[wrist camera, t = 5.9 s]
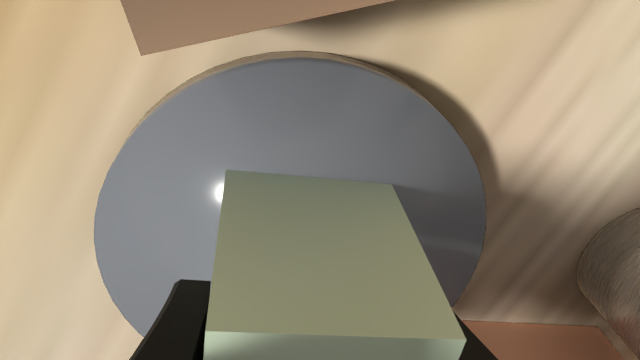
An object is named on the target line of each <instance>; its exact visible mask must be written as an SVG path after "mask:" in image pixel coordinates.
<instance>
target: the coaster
mask: <svg viewBox="0 0 640 360" xmlns="http://www.w3.org/2000/svg"><path fill="white" fill-rule="evenodd" d="M226 170H235V171H246V172H258V173H269V174H281V175H292V176H303V177H315V178H326V179H338V180H349V181H360V182H372V183H383V184H392V186H393V188H394V190H395V192H396V194H397V197H398V199H399V201H400V203H401V205H402V207H403V209H404V211H405V213H406V215H407V217H408V219H409V221H410V223H411V226H412V228H413V230H414V232H415V234H416V236H417V238H418V240H419V242H420V244H421V246H422V248H423V250H424V253H425V255H426V257H427V259H428V261H429V263H430V265H431V267H432V269H433V271H434V273H435V275H436V277H437V280H438V282H439V284H440V286H441V288H442V290H443V292H444V294H445V296H446V298H447V300H448V302H449V304H450V306H451V308H452V307H453V306H454V304H455V303H456V302H457V300H458V299H459V297H460V296H461V294H462V293H463V291H464V290H465V288H466V286H467V285H468V283H469V281H470V279H471V277H472V275H473V273H474V270H475V268H476V266H477V263H478V260H479V257H480V254H481V251H482V247H483V242H484V236H485V230H486V202H485V195H484V188H483V184H482V181H481V178H480V174H479V171H478V168H477V165H476V163H475V161H474V159H473V157H472V155H471V153H470V151H469V149H468V147H467V145H466V144H465V143H464V141H463V140H462V139H461V137H460V136H459V134H458V133H457V132H456V130H455V129H454V128H453V126H452V125H451V124H450V123H449V122H448V121H447V120H446V118H445V117H444V116H443V115H442V114H441V113H440V112H439V111H438V110H437V109H436V108H435V107H434V106H433V105H432V104H431V103H430V102H429V101H428V100H427V99H426V98H425V97H424V96H423V95H422V94H421V93H419V92H418V91H417V90H415V89H414V88H413V87H411V86H410V85H409V84H407V83H406V82H404V81H403V80H401V79H400V78H398V77H396V76H394V75H392V74H390V73H388V72H386V71H385V70H383V69H381V68H378V67H376V66H373V65H370V64H367V63H365V62H362V61H359V60H356V59H353V58H348V57H344V56H339V55H334V54H330V53H320V52H307V51H288V52H270V53H265V54H260V55H254V56H249V57H244V58H240V59H237V60H234V61H231V62H228V63H225V64H222V65H219V66H216V67H213V68H211V69H209V70H207V71H205V72H203V73H201V74H199V75H197V76H195V77H193V78H191V79H189V80H187V81H186V82H184V83H183V84H181V85H180V86H179V87H177V88H176V89H174V90H173V91H171V92H170V93H168V94H167V95H166V96H164V97H163V98H162V99H161V100H160V101H159V102H158V103H157V104H156V105H155V106H153V107H152V108H151V109H150V110H149V111H148V112H147V113H146V114H145V115H144V117H143V118H142V119H141V120H140V122H139V123H138V124H137V125H136V126H135V128H134V129H133V130H132V131H131V133H130V135H129V136H128V138H127V140H126V141H125V143H124V145H123V147H122V148H121V150H120V152H119V153H118V155H117V157H116V159H115V160H114V162H113V164H112V166H111V167H110V169H109V171H108V173H107V176H106V178H105V181H104V183H103V186H102V189H101V191H100V194H99V198H98V203H97V208H96V213H95V222H94V244H95V251H96V258H97V263H98V266H99V269H100V273H101V276H102V279H103V282H104V284H105V286H106V288H107V290H108V292H109V294H110V296H111V298H112V300H113V302H114V303H115V305H116V306H117V307H118V309H119V310H120V312H121V313H122V315H123V316H124V318H125V319H126V320H127V321H128V322H129V323H130V324H131V325H132V326H133V327H134V328H135V329H136V331H137V332H138V333H139V334H141V335H142V336H143V337H145V336H146V334H147V333H148V331H149V330H150V328H151V326H152V325H153V323H154V321H155V320H156V318H157V317H158V315H159V313H160V311H161V310H162V308H163V306H164V304H165V302H166V301H167V299H168V297H169V295H170V293H171V290H172V288H173V286H174V283H176V282H177V281H179V280H180V279H186V280H204V281H211V282H212V274H213V266H214V259H215V251H216V243H217V235H218V227H219V220H220V212H221V204H222V196H223V188H224V181H225V173H226ZM210 290H211V286H210Z"/></svg>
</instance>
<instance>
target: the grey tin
mask: <svg viewBox="0 0 640 360" xmlns="http://www.w3.org/2000/svg"><path fill="white" fill-rule="evenodd" d="M577 282H578V285H579V288H580V290H581V291H582V292H583V294H584V295H585V296H586V297H587V299H588V300H589V301H590V302H591V303H592V304H593V306H594V307H595V308H596V309H597V310H598V312H599V313H600V314H601V315H602V316H603V317H604V319H605V320H606V321H607V322H608V323H609V325H610V326H611V327H612V328H613V329H614V330H615V332H616V333H617V334H618V335H619V336H620V338H621V339H622V340H623V341H624V342H625V343H626V345H627V346H628V347H629V348H630V349H631V350H632V352H633V353H634V354H635V355H636V356H637V358H638V359H639V360H640V208H637V209H634V210H632V211H630V212H627V213H625V214H623V215H621V216H619V217H618V218H616V219H615V220H613V221H611V222H610V223H609V224H607V225H606V226H605V227H604V228H602V229H601V230H600V231H599V232H598V233H597V234H596V235H595V236H594V237H593V238H592V240H591V241H590V242H589V243H588V245H587V246H586V248H585V249H584V251H583V253H582V255H581V257H580V260H579V263H578V266H577Z"/></svg>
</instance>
